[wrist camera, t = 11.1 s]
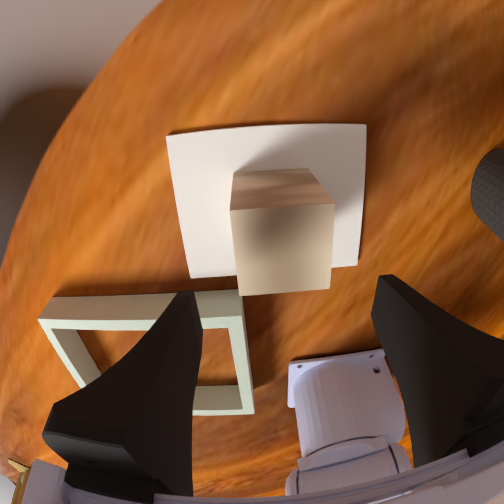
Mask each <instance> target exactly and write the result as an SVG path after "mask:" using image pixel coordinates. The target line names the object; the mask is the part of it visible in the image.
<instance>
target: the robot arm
mask: <svg viewBox="0 0 504 504" xmlns="http://www.w3.org/2000/svg"><path fill="white" fill-rule="evenodd" d="M371 317H372V320H373V324H374V327H375V330H376V334H377V336H378V339H379V341H380V343H381V346H382V348H383V349H376V350H371V351H365V352H358V353H352V354H345V355H338V356H331V357H323V358H315V359H306V360H297V361H292V362H290V363H289V371H288V407H290V408H294V407H295V410H296V417H297V424H298V431H299V439H300V446H301V454H302V458H301V459H298V467H299V469H294V470H292V471H291V473H290V475H289V476H288V478H287V480H286V485H285V496H273V497H256V498H203V497H193V482H192V414H193V402H194V395H195V389H196V383H197V378H198V372H199V366H200V360H201V354H202V338H203V328H202V324H201V320H200V315H199V311H198V306H197V302H196V297H195V293H194V291H179V292H178V293H177V294H176V295H175V297H174V298H173V299H172V301H171V302H170V303H169V305H168V306H167V307H166V309H165V310H164V311H163V313H162V314H161V315H160V317H159V318H158V319H157V320H156V322H155V323H154V324H153V325H152V327H151V328H150V329H149V330H148V331H147V333H146V334H145V335H144V336H143V337H142V338H141V339H140V341H139V342H138V343H137V344H136V345H135V346H134V347H133V348H132V349H131V350H130V351H129V352H128V353H127V354H126V355H125V356H124V357H123V358H122V359H121V360H119V361H118V362H117V363H116V364H115V365H113V366H112V367H111V368H110V369H108V370H107V371H106V372H105V373H103V374H102V375H101V376H99V377H98V378H97V379H95V380H94V381H92V382H91V383H89V384H88V385H86V386H85V387H83V388H82V389H80V390H78V391H77V392H75V393H73V394H71V395H69V396H67V397H66V398H64V399H62V400H60V401H58V402H56V403H54V404H53V407H52V409H51V412H50V414H49V417H48V419H47V422H46V425H45V427H44V430H43V433H42V437H43V439H44V441H45V443H46V444H47V445H48V446H49V447H50V448H51V449H52V450H53V451H55V452H56V453H57V454H58V455H59V456H60V457H62V458H63V459H64V460H65V461H67V462H68V463H69V464H68V468H67V470H65V469H64V468H61V467H59V466H56V465H53V464H50V463H47V462H44V461H41V460H38V459H34V461H33V465H32V468H31V471H30V474H29V478H28V481H27V485H26V488H25V492H24V496H23V500H22V504H486V503H487V502H489V501H491V500H493V499H494V498H496V497H497V496H499V495H501V494H502V493H504V340H502V339H499V338H496V337H494V336H491V335H489V334H487V333H484V332H482V331H480V330H478V329H476V328H474V327H472V326H470V325H468V324H466V323H464V322H462V321H461V320H459V319H457V318H455V317H454V316H452V315H450V314H449V313H447V312H446V311H444V310H443V309H441V308H440V307H438V306H437V305H435V304H434V303H432V302H431V301H429V300H428V299H427V298H425V297H424V296H422V295H421V294H420V293H418V292H417V291H416V290H414V289H413V288H411V287H410V286H409V285H407V284H406V283H405V282H403V281H402V280H400V279H399V278H397V277H396V276H394V275H393V274H390V275H380V276H379V277H378V282H377V288H376V293H375V298H374V303H373V307H372V312H371ZM385 355H386V357H387V359H388V361H389V364H390V366H391V368H392V370H393V373H394V375H395V377H396V380H397V383H398V385H399V388H400V392H401V396H402V399H403V403H404V407H405V411H406V416H407V420H408V425H409V431H410V437H411V443H412V452H413V462H414V469H412V467H411V464H410V461H409V458H408V455H407V453H406V451H405V449H404V448H403V447H402V446H401V445H398V444H397V443H398V442H399V441H400V440H401V438H402V436H403V433H404V429H405V414H404V408H403V404H402V401H401V398H400V396H399V393H398V391H397V388H396V386H395V383H394V381H393V378H392V376H391V373H390V371H389V368H388V366H387V364H386V361H385V359H384V356H385Z"/></svg>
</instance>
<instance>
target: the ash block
mask: <svg viewBox="0 0 504 504" xmlns="http://www.w3.org/2000/svg"><path fill="white" fill-rule="evenodd" d="M334 214H335V203H334V202H333V200H332V199H331V198H330V196H329V195H328V194H327V192H326V191H325V190H324V188H323V187H322V186H321V184H320V183H319V182H318V180H317V179H316V178H315V177H314V175H313V174H312V173H311V171H310V170H309V169H308V168H297V169H279V170H263V171H249V172H237V173H233V180H232V190H231V200H230V220H231V229H232V238H233V246H234V255H235V264H236V272H237V281H238V289H239V296H248V295H262V294H274V293H286V292H298V291H308V290H319V289H329V288H330V278H331V265H332V251H333V235H334Z"/></svg>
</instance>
